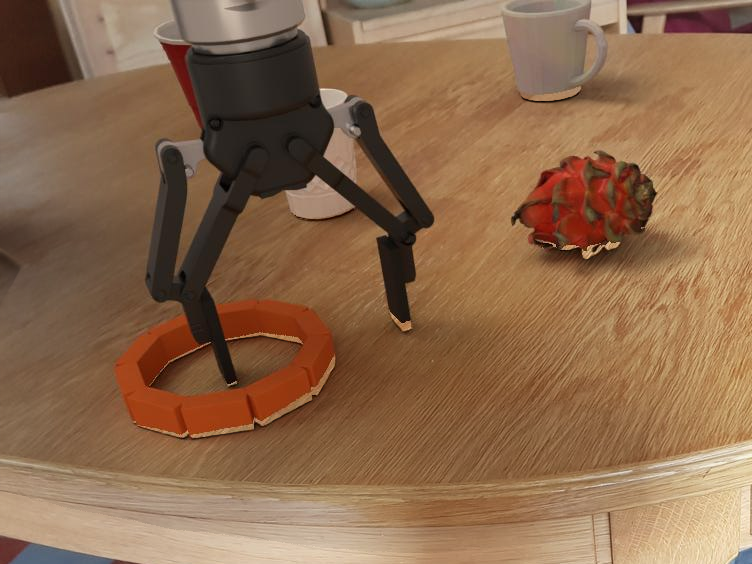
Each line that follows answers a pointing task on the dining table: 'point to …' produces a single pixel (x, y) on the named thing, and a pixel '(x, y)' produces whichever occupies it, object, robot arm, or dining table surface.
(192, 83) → the robot arm
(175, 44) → the plastic cup
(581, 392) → the dining table surface
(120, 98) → the dining table surface
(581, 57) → the mug
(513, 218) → the dragon fruit
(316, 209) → the white cup
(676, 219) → the dining table surface
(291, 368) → the ring
